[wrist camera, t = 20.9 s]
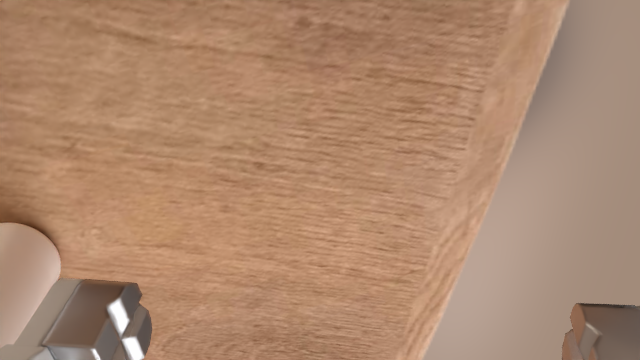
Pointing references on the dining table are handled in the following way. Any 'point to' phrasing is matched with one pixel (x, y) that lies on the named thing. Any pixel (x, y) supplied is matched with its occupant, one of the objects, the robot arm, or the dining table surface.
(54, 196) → the dining table surface
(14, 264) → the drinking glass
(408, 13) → the dining table surface
